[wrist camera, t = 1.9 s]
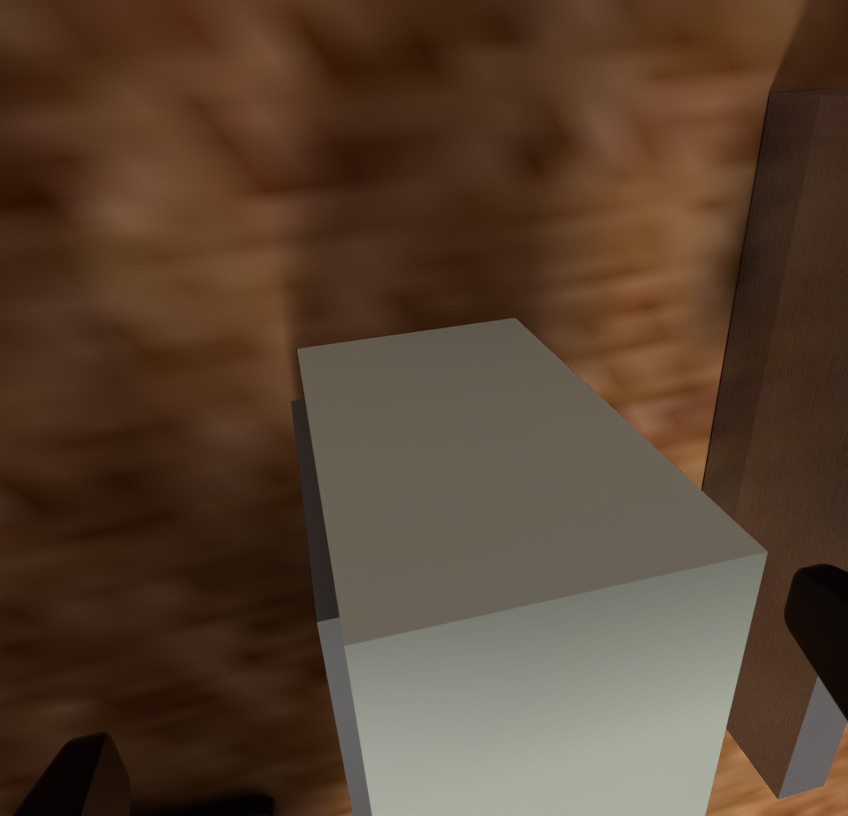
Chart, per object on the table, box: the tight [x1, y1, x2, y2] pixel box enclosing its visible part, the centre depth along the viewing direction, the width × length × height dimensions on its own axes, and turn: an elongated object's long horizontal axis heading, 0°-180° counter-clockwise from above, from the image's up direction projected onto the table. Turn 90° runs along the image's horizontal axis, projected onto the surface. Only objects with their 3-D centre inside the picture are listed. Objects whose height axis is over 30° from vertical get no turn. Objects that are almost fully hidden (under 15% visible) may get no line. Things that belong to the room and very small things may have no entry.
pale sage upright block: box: [291, 318, 768, 816], centre depth 9 cm, size 6×4×6 cm, turn 4°
